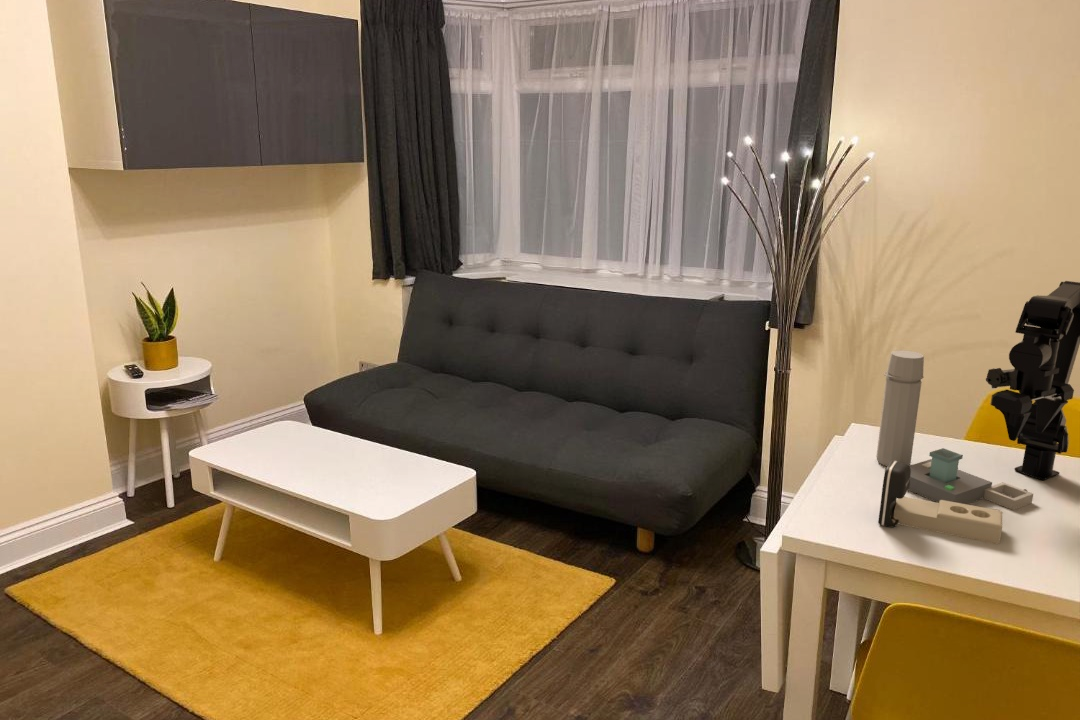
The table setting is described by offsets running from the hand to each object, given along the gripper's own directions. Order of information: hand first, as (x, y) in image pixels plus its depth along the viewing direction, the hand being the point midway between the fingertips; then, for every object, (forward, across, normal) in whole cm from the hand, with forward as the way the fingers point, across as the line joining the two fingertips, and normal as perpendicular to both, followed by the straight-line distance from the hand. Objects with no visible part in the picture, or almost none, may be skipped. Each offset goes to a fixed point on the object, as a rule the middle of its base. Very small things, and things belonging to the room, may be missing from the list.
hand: (1025, 436), depth 173 cm
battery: (+13, +33, -4) cm, 36 cm away
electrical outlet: (+13, +26, +2) cm, 29 cm away
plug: (+12, +12, -9) cm, 19 cm away
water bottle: (+13, +8, -24) cm, 28 cm away
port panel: (+12, +12, -9) cm, 19 cm away
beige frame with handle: (+12, +3, +1) cm, 13 cm away
